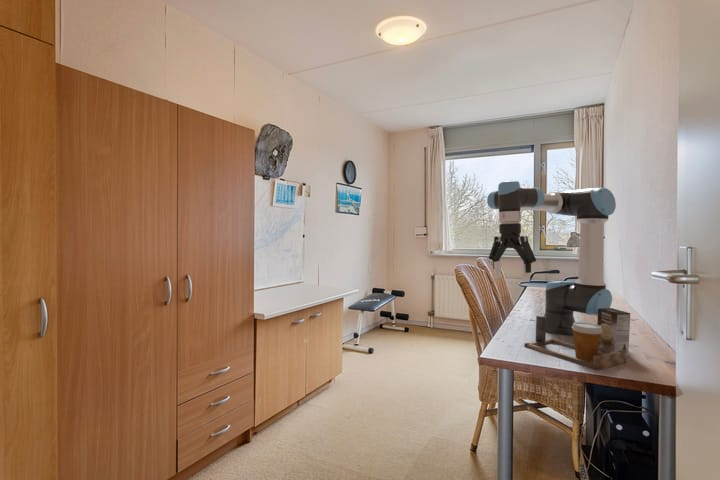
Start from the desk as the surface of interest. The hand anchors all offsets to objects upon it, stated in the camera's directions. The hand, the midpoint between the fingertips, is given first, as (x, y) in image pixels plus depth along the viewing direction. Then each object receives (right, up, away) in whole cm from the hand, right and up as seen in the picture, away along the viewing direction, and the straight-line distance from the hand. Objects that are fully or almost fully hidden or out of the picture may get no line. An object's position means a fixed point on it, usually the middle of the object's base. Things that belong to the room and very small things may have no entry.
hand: (511, 280), depth 140 cm
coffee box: (+40, -28, +3) cm, 49 cm away
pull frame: (+22, -28, -1) cm, 35 cm away
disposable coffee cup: (+25, -28, -5) cm, 38 cm away
